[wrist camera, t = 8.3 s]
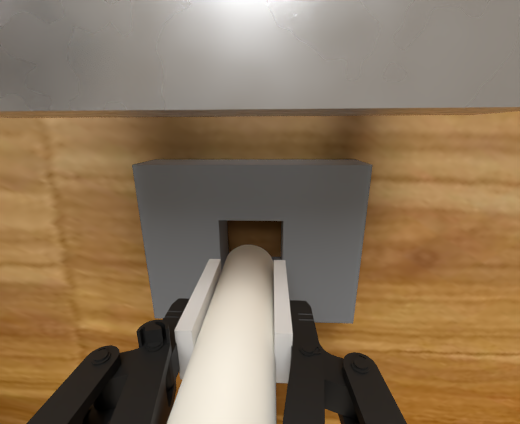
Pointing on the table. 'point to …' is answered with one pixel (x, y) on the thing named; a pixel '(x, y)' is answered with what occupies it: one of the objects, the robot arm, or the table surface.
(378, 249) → the table surface
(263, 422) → the peg
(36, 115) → the grey legged flat piece
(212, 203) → the socket block
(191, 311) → the robot arm
